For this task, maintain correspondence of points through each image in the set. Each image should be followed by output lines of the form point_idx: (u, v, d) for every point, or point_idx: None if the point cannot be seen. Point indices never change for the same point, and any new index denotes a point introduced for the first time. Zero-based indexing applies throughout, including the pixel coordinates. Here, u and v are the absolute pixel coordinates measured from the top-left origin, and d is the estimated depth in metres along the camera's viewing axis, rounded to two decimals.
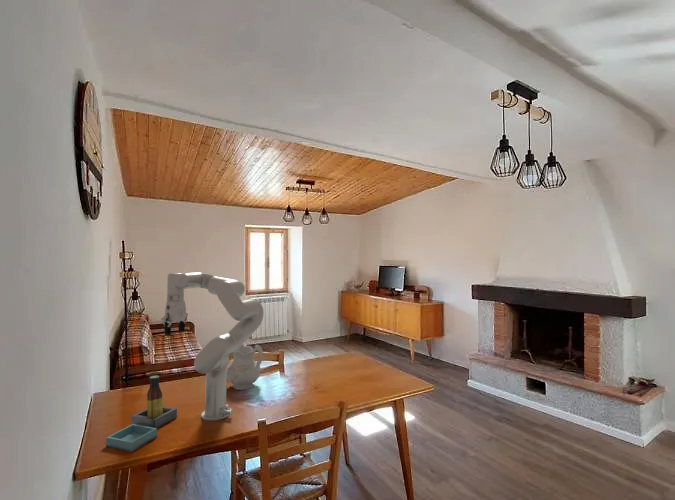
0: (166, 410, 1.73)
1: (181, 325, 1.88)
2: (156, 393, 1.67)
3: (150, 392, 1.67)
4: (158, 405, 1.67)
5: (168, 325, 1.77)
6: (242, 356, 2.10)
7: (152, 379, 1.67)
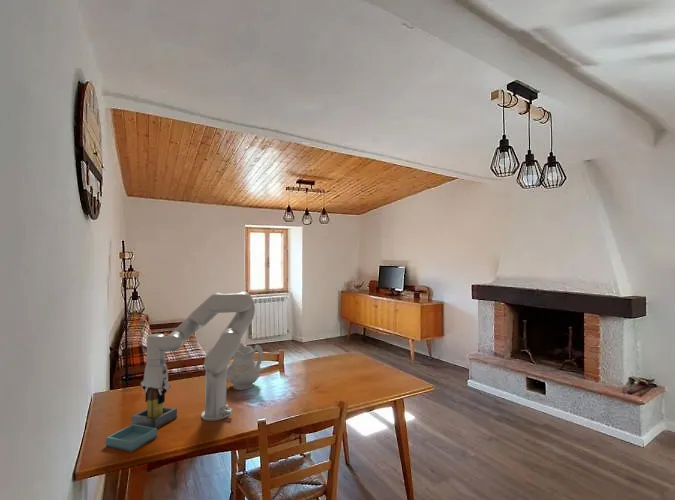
0: (166, 410, 1.73)
1: None
2: (156, 393, 1.67)
3: (150, 392, 1.67)
4: (158, 405, 1.67)
5: (166, 391, 1.69)
6: (242, 356, 2.10)
7: None
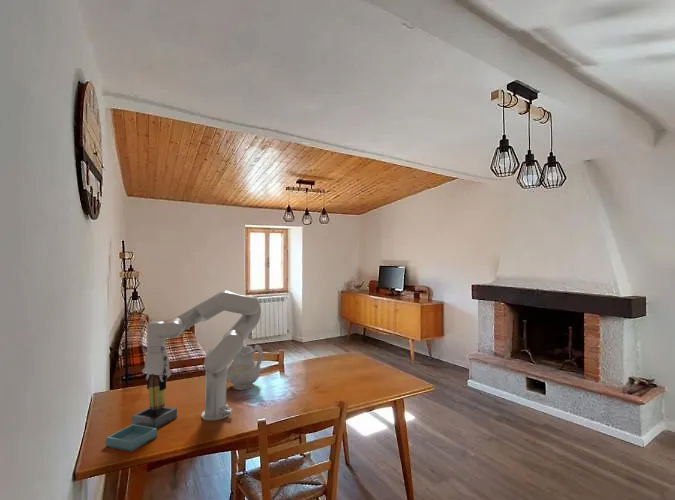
0: (166, 410, 1.73)
1: None
2: (158, 380, 1.67)
3: (152, 379, 1.67)
4: (160, 392, 1.68)
5: None
6: (242, 356, 2.10)
7: None
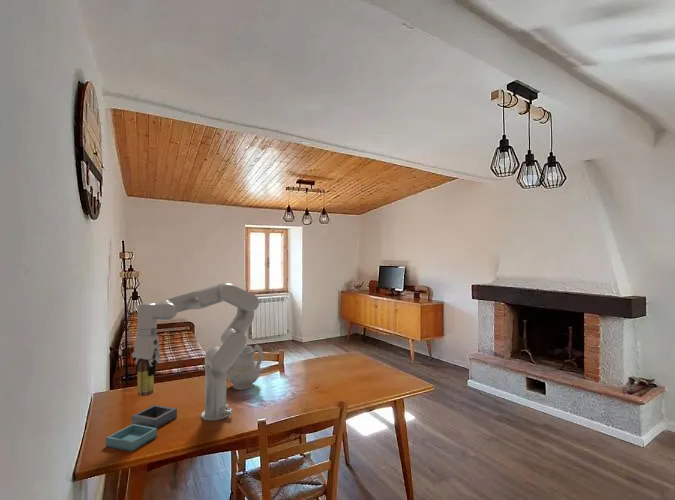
0: (166, 410, 1.73)
1: None
2: (146, 364, 1.59)
3: (140, 363, 1.58)
4: (149, 377, 1.59)
5: (156, 363, 1.60)
6: (242, 356, 2.10)
7: None
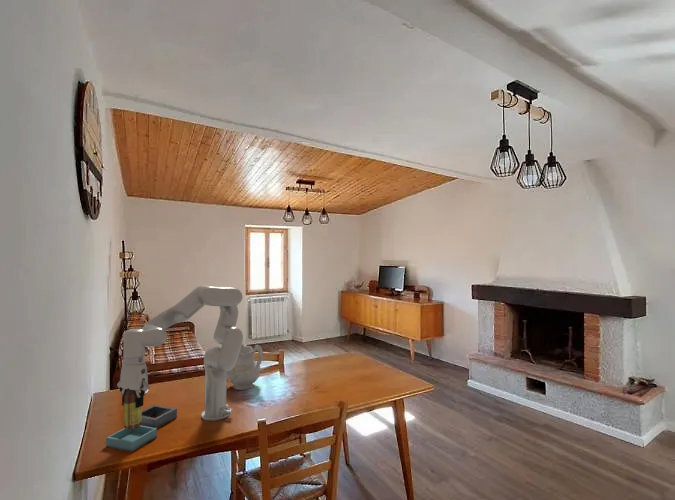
0: (166, 410, 1.73)
1: None
2: (134, 395, 1.48)
3: (127, 394, 1.48)
4: (136, 409, 1.48)
5: (145, 393, 1.50)
6: (242, 356, 2.10)
7: None
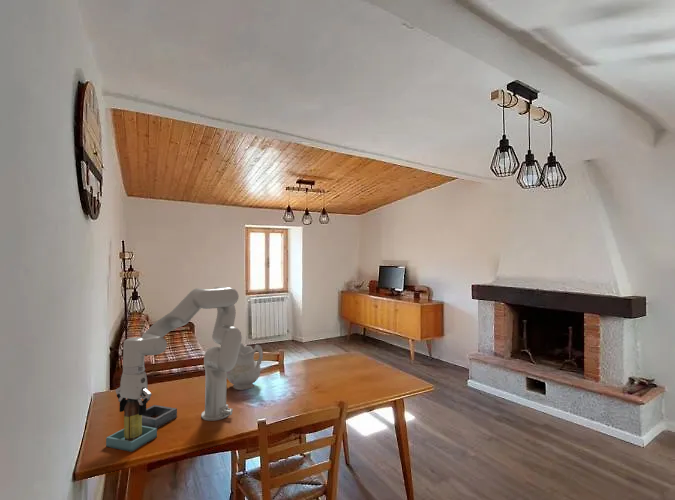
0: (166, 410, 1.73)
1: (124, 403, 1.52)
2: (134, 408, 1.48)
3: (127, 407, 1.48)
4: (136, 421, 1.49)
5: (147, 400, 1.50)
6: (242, 356, 2.10)
7: None
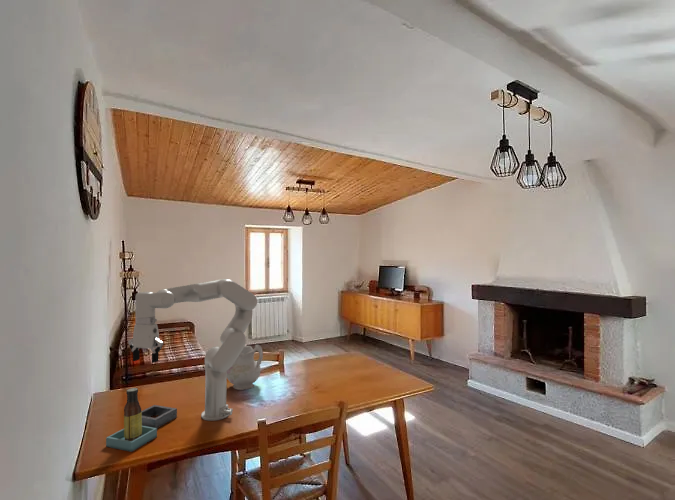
0: (166, 410, 1.73)
1: (137, 353, 1.62)
2: (134, 408, 1.48)
3: (127, 407, 1.48)
4: (136, 421, 1.49)
5: (159, 349, 1.60)
6: (242, 356, 2.10)
7: (129, 392, 1.48)
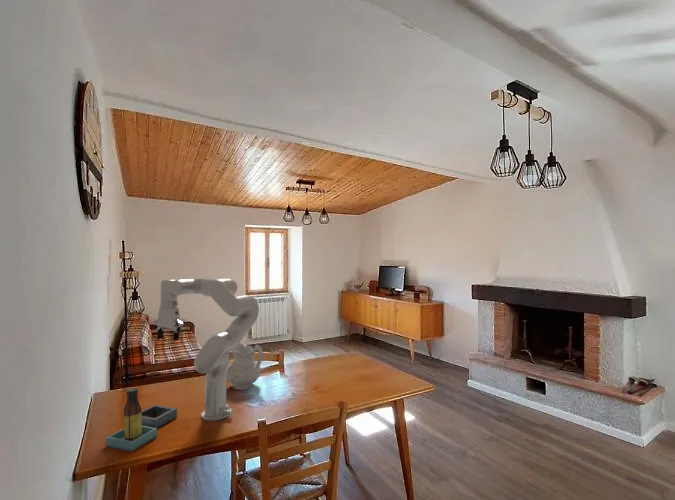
0: (166, 410, 1.73)
1: (161, 332, 1.86)
2: (134, 408, 1.48)
3: (127, 407, 1.48)
4: (136, 421, 1.49)
5: None
6: (242, 356, 2.10)
7: (129, 392, 1.49)
